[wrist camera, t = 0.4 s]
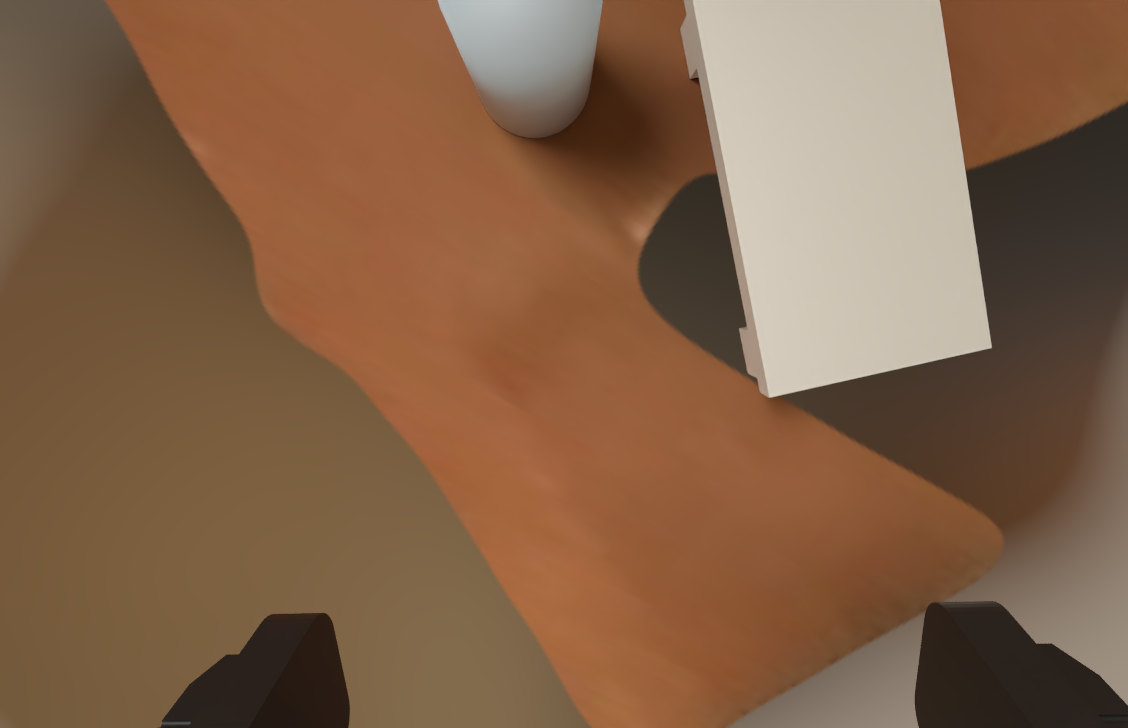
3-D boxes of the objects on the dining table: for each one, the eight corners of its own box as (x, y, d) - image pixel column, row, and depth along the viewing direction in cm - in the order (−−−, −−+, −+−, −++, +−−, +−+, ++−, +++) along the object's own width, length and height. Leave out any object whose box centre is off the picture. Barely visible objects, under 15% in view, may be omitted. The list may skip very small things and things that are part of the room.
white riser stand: (669, 25, 32) (688, -22, 27) (870, -24, 32) (927, -80, 27) (739, 381, 34) (769, 397, 30) (929, 338, 34) (991, 347, 29)
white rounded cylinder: (464, 34, 32) (415, -93, 21) (576, 7, 32) (584, -134, 21) (491, 149, 33) (457, 83, 22) (601, 123, 33) (621, 44, 22)
